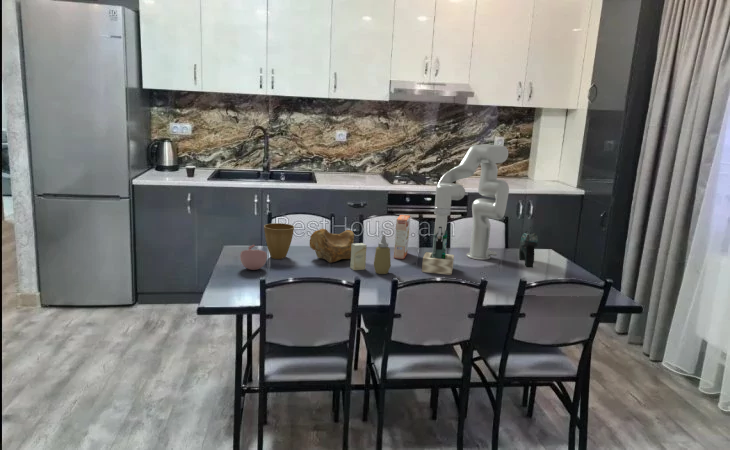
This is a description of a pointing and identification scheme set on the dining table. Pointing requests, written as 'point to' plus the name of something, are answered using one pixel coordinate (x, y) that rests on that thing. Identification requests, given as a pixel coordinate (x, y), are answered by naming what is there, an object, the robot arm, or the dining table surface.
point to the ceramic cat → (528, 248)
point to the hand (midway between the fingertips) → (439, 247)
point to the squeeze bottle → (382, 257)
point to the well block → (437, 264)
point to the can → (436, 252)
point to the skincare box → (358, 256)
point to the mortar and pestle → (253, 258)
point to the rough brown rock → (332, 245)
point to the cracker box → (402, 236)
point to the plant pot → (278, 239)
